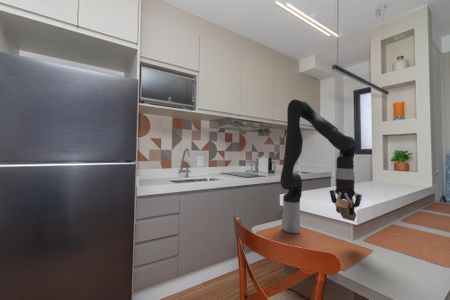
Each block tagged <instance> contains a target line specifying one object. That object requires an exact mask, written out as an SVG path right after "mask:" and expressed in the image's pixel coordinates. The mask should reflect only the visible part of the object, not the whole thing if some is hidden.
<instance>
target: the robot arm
mask: <svg viewBox="0 0 450 300" xmlns="http://www.w3.org/2000/svg"><path fill="white" fill-rule="evenodd" d="M286 114H287V117H286V119H287V122H286V123H287V124H286V125H287V127H286V137H285V138H286V139H285V143H284V144H285V145H284V146H285V147H284V158H283V165H282V168H281V169H282V170H281V174H280V180H279V181H280V185H281V188H282V189H283V190H286V191H287V190H288V191H287V192H286V193H285V194H284V195H283V199H282V200H283V203H282V205H283V207H282V208H283V210H282V211H283V212H282V213H281V230H282V231H284V232H285V233H289V234H298V233H299V234H300V233H301V198H302V192H303V191H302V188H303V181H302V177H301V175H300V174H298V173H294V168H295V165H296V163H297V162H298V159H299V158H300V157H301V155H302V152H303V143H304V139H303V135H302V131H301V128H300V127H301V126H300V121H301V119H304V120H306V121H307V122H308V123H309V124H311V126H312V128H314V130H315V131H316V132H318V134H320V135H321V136H322V137H324V138H325V139H327V141H328V142H329V144H330V145H332V146H333V148H336V150H338V151H339V153H338V156H337V157H336V168H335V169H336V171H335V187H336V188H335V189H332V190H329V195H330V198H331V203H334V205H335V204H336V201H337V199H341V200H347V201H349V206H350V208H349V215H350V216H353V215H354V211H355V208H358V207H360V204H361V201H362V198H363V195H362V194H361V193H357V192H356V191H355V169H354V157H355V153H356V146H357V145H356V141H355V139H354V138H353V137H351V136H348V135H345V134H343V133H342V132H341V131H340V130H339V128H338V127H336V126H335V125H334V124H332V122H330V121H328V120H327V119H325V118H324V117H322V116H321V115H320V114H319V113H317V112H316V111H315V110H314V109H313V108H312V106H310V105H309V103H307V102H306V101H304V100H302V99H297V98H294V99H292V100H290V101H289V103H288V106H287V112H286ZM336 195H337V196H336ZM354 198H355V200H354ZM335 210H336V213H338V214H340V212H339V210H338V209H337V207H336V206H335Z"/></svg>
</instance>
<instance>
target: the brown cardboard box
mask: <svg viewBox="0 0 450 300" xmlns="http://www.w3.org/2000/svg"><path fill="white" fill-rule="evenodd" d="M336 199H337V198H336ZM334 205H335V208H336V207H337V209H338V210H339V212H340V213H339V214H340V216H341V217H342V219H344V220H348V221H352V222H355V221H356V218H357V213H356V211H355V210H354V215H353V216H350V215H349V208H350V206H349V201H347V200H345V199H343V200H341V199H337V201H336V204H335V203H334Z"/></svg>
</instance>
